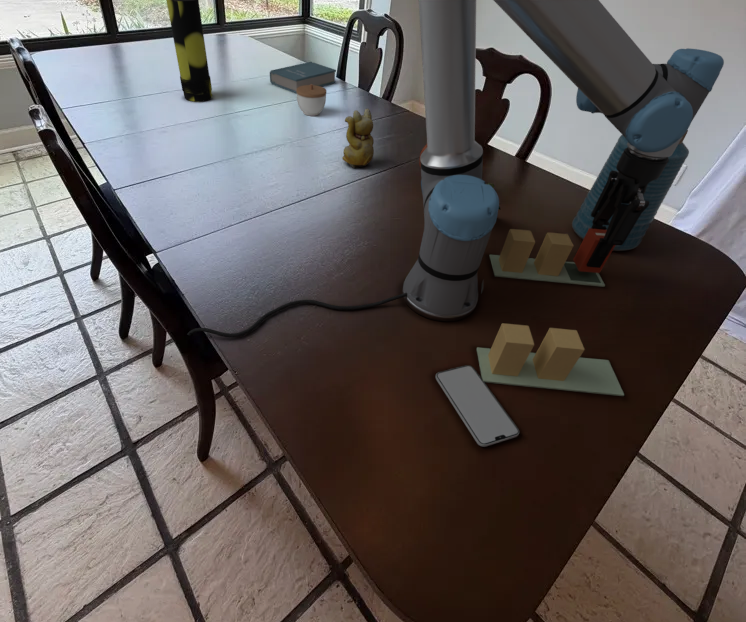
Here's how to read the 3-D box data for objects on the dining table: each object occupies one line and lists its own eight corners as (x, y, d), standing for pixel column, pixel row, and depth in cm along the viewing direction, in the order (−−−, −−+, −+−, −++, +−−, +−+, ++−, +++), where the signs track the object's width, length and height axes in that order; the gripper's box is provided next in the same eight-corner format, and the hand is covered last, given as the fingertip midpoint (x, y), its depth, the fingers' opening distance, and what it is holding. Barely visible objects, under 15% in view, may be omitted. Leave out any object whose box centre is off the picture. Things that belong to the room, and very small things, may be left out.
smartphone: (471, 363, 77) (522, 433, 67) (470, 366, 78) (520, 435, 68) (433, 373, 75) (481, 446, 65) (433, 375, 76) (479, 448, 66)
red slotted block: (578, 271, 96) (596, 239, 90) (573, 259, 99) (589, 227, 93) (599, 273, 96) (618, 241, 90) (593, 261, 99) (610, 229, 93)
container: (219, 97, 167) (205, -1, 146) (196, 104, 161) (179, 2, 140) (200, 91, 172) (185, -6, 150) (177, 97, 166) (158, -3, 144)
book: (296, 93, 176) (296, 79, 172) (270, 83, 183) (269, 69, 179) (335, 83, 188) (336, 69, 184) (309, 74, 195) (309, 61, 191)
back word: (494, 276, 97) (507, 244, 91) (489, 255, 102) (500, 223, 96) (604, 286, 96) (624, 254, 90) (592, 265, 102) (610, 233, 96)
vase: (651, 254, 106) (726, 141, 87) (587, 253, 105) (649, 139, 86) (617, 218, 118) (677, 112, 98) (559, 218, 116) (608, 110, 97)
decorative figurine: (361, 155, 137) (365, 103, 127) (379, 165, 133) (386, 112, 123) (338, 163, 133) (340, 110, 122) (357, 173, 129) (361, 119, 118)
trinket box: (310, 105, 167) (310, 77, 160) (331, 113, 162) (332, 85, 155) (290, 112, 161) (289, 83, 154) (312, 120, 156) (312, 91, 149)
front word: (482, 382, 75) (497, 348, 69) (476, 348, 81) (489, 314, 75) (623, 396, 75) (650, 363, 69) (607, 361, 80) (631, 328, 74)
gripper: (691, 175, 73) (621, 285, 90) (649, 135, 85) (594, 238, 102) (646, 171, 73) (584, 282, 90) (610, 132, 86) (561, 236, 102)
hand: (589, 259), depth 96 cm, fingers closed on red slotted block, 4 cm apart
